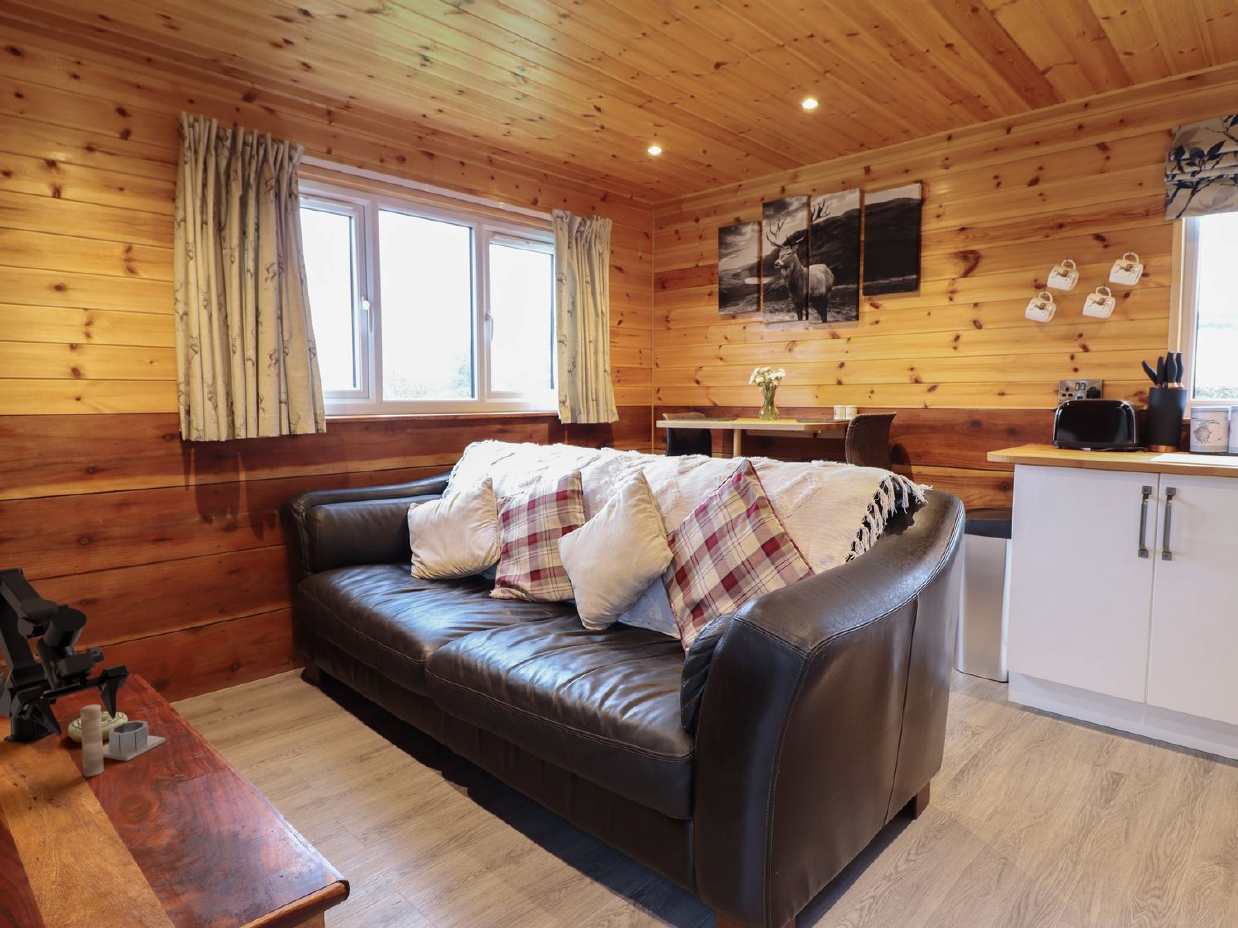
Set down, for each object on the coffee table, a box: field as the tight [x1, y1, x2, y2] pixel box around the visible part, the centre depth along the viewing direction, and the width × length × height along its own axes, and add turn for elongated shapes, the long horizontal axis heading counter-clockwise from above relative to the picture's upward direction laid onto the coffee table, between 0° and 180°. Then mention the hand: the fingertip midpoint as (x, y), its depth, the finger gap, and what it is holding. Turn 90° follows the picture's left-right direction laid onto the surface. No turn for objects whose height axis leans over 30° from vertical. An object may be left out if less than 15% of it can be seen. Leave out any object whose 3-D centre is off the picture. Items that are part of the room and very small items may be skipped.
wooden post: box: [79, 704, 105, 778], centre depth 142 cm, size 3×3×13 cm
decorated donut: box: [67, 711, 129, 743], centre depth 159 cm, size 10×11×4 cm
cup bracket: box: [103, 719, 166, 762], centre depth 152 cm, size 9×9×4 cm
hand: (87, 725), depth 142 cm, fingers open, 9 cm apart
